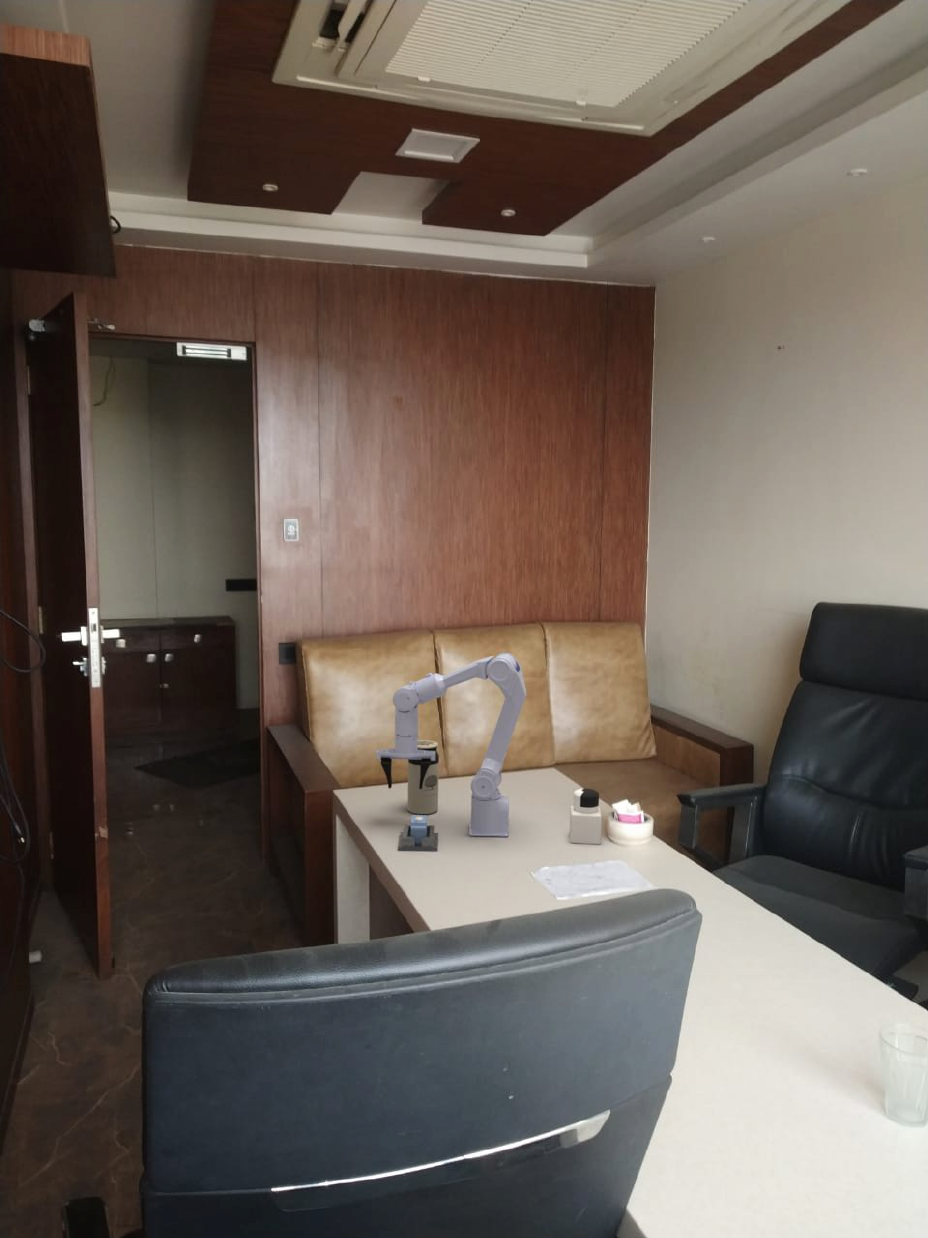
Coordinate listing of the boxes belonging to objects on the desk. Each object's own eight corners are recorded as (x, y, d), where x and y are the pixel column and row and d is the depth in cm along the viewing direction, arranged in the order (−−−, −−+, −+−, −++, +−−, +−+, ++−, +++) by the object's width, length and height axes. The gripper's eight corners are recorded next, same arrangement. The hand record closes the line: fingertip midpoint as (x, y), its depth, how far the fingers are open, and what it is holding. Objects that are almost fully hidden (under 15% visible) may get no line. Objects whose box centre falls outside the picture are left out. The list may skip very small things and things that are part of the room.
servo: (427, 834, 210) (427, 810, 210) (425, 845, 203) (426, 821, 202) (412, 833, 210) (412, 810, 210) (410, 845, 203) (410, 820, 202)
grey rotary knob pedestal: (598, 834, 215) (600, 787, 214) (600, 845, 208) (602, 796, 207) (569, 833, 216) (571, 785, 215) (570, 843, 209) (572, 794, 207)
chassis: (438, 836, 212) (438, 824, 211) (437, 851, 202) (437, 839, 201) (400, 835, 211) (401, 824, 211) (398, 850, 201) (398, 838, 201)
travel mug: (402, 807, 232) (404, 741, 230) (430, 804, 236) (431, 738, 234) (414, 816, 225) (415, 748, 223) (442, 813, 228) (443, 745, 227)
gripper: (435, 731, 221) (434, 783, 222) (378, 729, 221) (377, 782, 222) (435, 737, 214) (434, 791, 215) (375, 736, 214) (375, 790, 215)
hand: (405, 787), depth 218 cm, fingers open, 7 cm apart
